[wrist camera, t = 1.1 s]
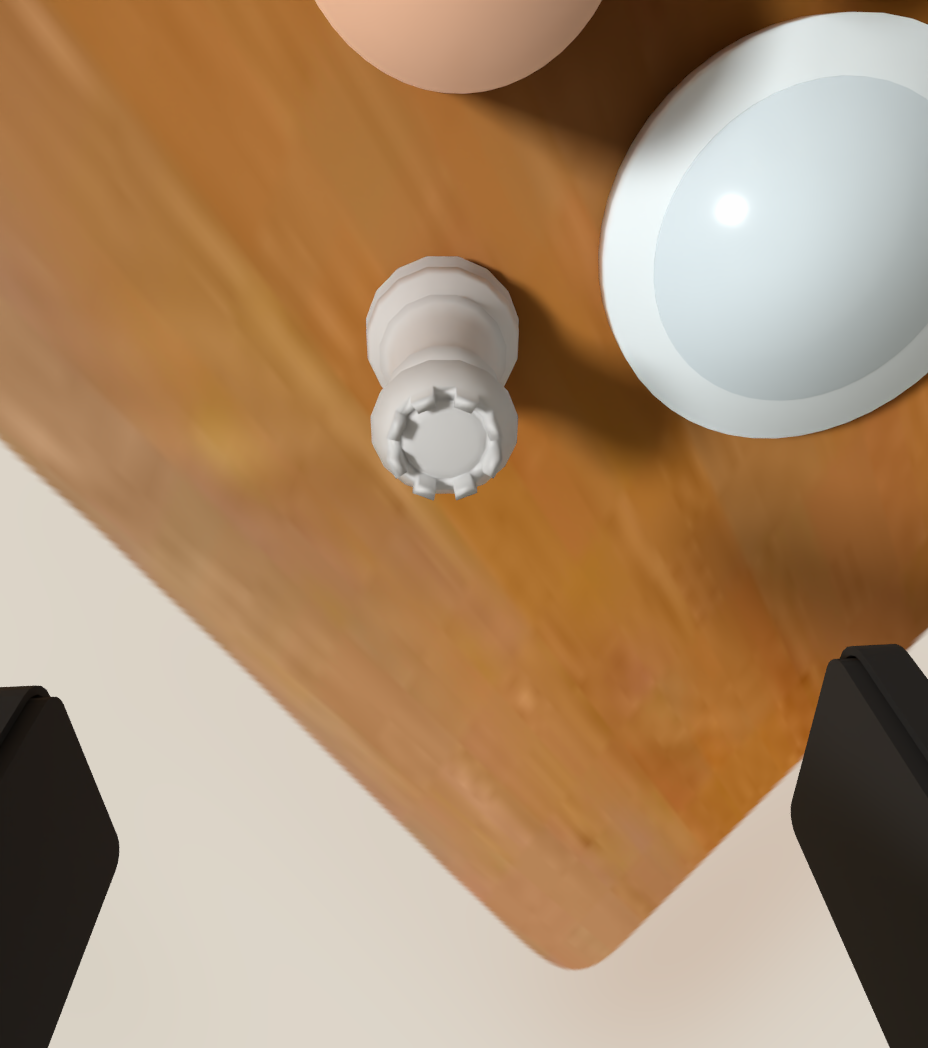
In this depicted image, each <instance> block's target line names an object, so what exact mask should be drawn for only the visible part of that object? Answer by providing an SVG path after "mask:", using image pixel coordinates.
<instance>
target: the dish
mask: <svg viewBox="0 0 928 1048" xmlns="http://www.w3.org/2000/svg"><path fill="white" fill-rule="evenodd" d="M598 266H599V283H600V290H601V297H602V303H603V306H604V310H605V313H606V317H607V320H608V323H609V326H610V328H611V330H612V333H613V335H614V337H615V339H616V341H617V344H618V346H619V347H620V349H621V351H622V353H623V355H624V356H625V358H626V360H627V361H628V363H629V364H630V366H631V367H632V369H633V371H634V372H635V374H636V375H637V377H638V378H639V379H640V381H641V382H642V383H643V384H644V385H645V386H646V387H647V388H648V390H649V391H650V392H651V393H652V394H653V395H654V396H655V397H656V398H657V399H659V400H660V401H661V402H662V403H663V404H665V405H666V406H667V407H668V408H669V409H671V410H672V411H674V412H676V413H677V414H679V415H681V416H682V417H684V418H686V419H687V420H689V421H691V422H694V423H696V424H698V425H701V426H703V427H705V428H708V429H711V430H714V431H718V432H721V433H725V434H729V435H735V436H742V437H749V438H783V437H792V436H801V435H805V434H810V433H814V432H819V431H823V430H826V429H829V428H832V427H835V426H838V425H841V424H844V423H847V422H849V421H852V420H854V419H856V418H858V417H860V416H863V415H865V414H867V413H869V412H871V411H873V410H875V409H877V408H878V407H880V406H882V405H884V404H885V403H887V402H889V401H890V400H892V399H894V398H895V397H897V396H898V395H900V394H901V393H902V392H904V391H905V390H907V389H908V388H909V387H911V386H912V385H914V384H915V383H916V382H917V381H919V380H920V379H921V378H922V377H923V376H924V375H926V374H927V373H928V24H925V23H922V22H920V21H917V20H915V19H912V18H907V17H902V16H897V15H892V14H887V13H874V12H835V13H825V14H817V15H808V16H802V17H798V18H794V19H791V20H787V21H783V22H779V23H776V24H773V25H770V26H768V27H765V28H763V29H761V30H758V31H756V32H754V33H751V34H749V35H746V36H744V37H743V38H741V39H739V40H737V41H736V42H734V43H732V44H730V45H729V46H727V47H725V48H724V49H722V50H720V51H718V52H717V53H715V54H714V55H713V56H711V57H710V58H709V59H708V60H706V61H705V62H704V63H702V64H701V65H700V66H698V67H697V68H696V69H694V70H693V71H692V72H691V73H690V74H688V75H687V76H686V77H685V78H684V79H683V80H682V81H681V82H680V83H679V84H678V85H677V86H676V87H675V88H674V89H673V90H672V91H671V92H670V93H669V94H668V95H667V96H666V97H665V98H664V100H663V101H662V102H661V103H660V105H659V106H658V107H657V108H656V109H655V111H654V112H653V113H652V114H651V115H650V117H649V118H648V119H647V121H646V122H645V124H644V125H643V127H642V128H641V130H640V131H639V133H638V135H637V136H636V138H635V139H634V141H633V142H632V144H631V146H630V148H629V150H628V152H627V154H626V156H625V158H624V160H623V162H622V164H621V165H620V167H619V169H618V172H617V174H616V177H615V180H614V183H613V185H612V188H611V191H610V194H609V196H608V199H607V204H606V208H605V212H604V216H603V220H602V225H601V232H600V241H599V250H598Z"/></svg>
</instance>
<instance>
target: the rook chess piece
mask: <svg viewBox="0 0 928 1048" xmlns="http://www.w3.org/2000/svg"><path fill="white" fill-rule="evenodd" d="M518 325H519V319H518V316H517V313H516V311H515V308H514V305H513V303H512V300H511V297H510V294H509V292H508V290H507V289H506V288H505V287H504V286H503V285H502V284H501V283H500V282H499V281H498V280H497V279H496V278H495V277H494V276H493V275H492V274H491V273H490V271H489V270H488V269H486V268H484V267H481V266H479V265H477V264H474V263H472V262H470V261H467V260H465V259H463V258H460V257H446V256H426V257H424V258H422V259H419V260H417V261H415V262H412V263H410V264H407V265H405V266H403V267H400V268H398V269H397V270H396V271H395V272H394V273H393V274H392V275H391V276H390V277H389V278H388V279H387V280H386V281H385V282H384V283H383V285H382V286H381V287H380V288H379V289H378V290H377V291H376V293H375V296H374V299H373V302H372V304H371V307H370V310H369V312H368V315H367V318H366V327H367V329H366V334H367V353H368V360H369V362H370V364H371V366H372V368H373V370H374V372H375V374H376V376H377V378H378V380H379V383H380V385H381V386H382V387H383V389H382V390H381V392H380V394H379V397H378V399H377V402H376V404H375V407H374V410H373V412H372V415H371V432H372V444H373V446H374V448H375V450H376V452H377V454H378V456H379V458H380V459H381V461H382V463H383V465H384V467H385V468H386V469H387V470H389V471H390V472H391V473H392V474H393V475H394V476H395V478H396V479H397V478H398V479H399V480H400V481H402V482H403V483H404V484H406V485H408V486H411V487H413V493H414V494H417V495H420V496H423V497H425V498H428V499H431V500H434V497H435V493H455V497H456V500H459V499H461V498H464V497H467V496H470V495H472V494H475V493H477V486H480V485H483V484H485V483H486V482H487V481H488V480H489V479H491V478H494V477H495V475H496V473H498V472H499V471H500V470H501V469H502V468H503V467H505V465H506V463H507V461H508V459H509V457H510V455H511V453H512V451H513V449H514V447H515V445H516V443H517V427H518V415H517V413H516V410H515V408H514V405H513V403H512V400H511V397H510V395H509V392H508V391H507V390H506V389H505V388H504V385H505V384H506V382H507V380H508V378H509V375H510V373H511V371H512V369H513V367H514V365H515V363H516V361H517V359H518V340H519V328H518Z"/></svg>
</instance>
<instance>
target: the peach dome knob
mask: <svg viewBox="0 0 928 1048" xmlns="http://www.w3.org/2000/svg"><path fill="white" fill-rule="evenodd" d="M315 1H316V3H317V5H318V7H319V8H320V9H321V11H322V12H323V14H324V15H325V17H326V18H327V20H328V21H329V22H330V24H331V25H332V27H333V28H334V29H335V30H336V31H337V32H338V34H339V35H340V36H341V37H342V38H343V39H344V40H345V42H346V43H347V44H348V45H349V46H350V47H351V48H353V49H354V50H355V51H356V52H357V53H358V54H359V55H360V56H362V57H363V58H364V59H365V60H366V61H368V62H369V63H371V64H372V65H373V66H375V67H376V68H378V69H379V70H381V71H382V72H384V73H386V74H388V75H390V76H392V77H394V78H396V79H398V80H400V81H402V82H404V83H406V84H409V85H412V86H415V87H418V88H421V89H425V90H430V91H436V92H441V93H459V94H466V93H475V92H484V91H488V90H492V89H496V88H500V87H503V86H507V85H509V84H511V83H514V82H516V81H518V80H521V79H523V78H525V77H527V76H529V75H530V74H532V73H533V72H535V71H537V70H538V69H540V68H542V67H543V66H545V65H546V64H547V63H549V62H550V61H551V60H552V59H554V58H555V57H556V56H557V55H559V54H560V53H561V52H562V51H563V50H564V49H565V48H566V47H567V46H568V45H569V44H570V43H571V42H572V41H573V40H574V39H575V38H576V37H577V36H578V35H579V33H580V32H581V31H582V29H583V28H584V27H585V25H586V24H587V23H588V21H589V20H590V19H591V17H592V16H593V15H594V13H595V11H596V10H597V8H598V6H599V4H600V3H601V1H602V0H315Z"/></svg>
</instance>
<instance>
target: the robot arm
mask: <svg viewBox="0 0 928 1048" xmlns="http://www.w3.org/2000/svg"><path fill="white" fill-rule="evenodd" d="M791 820H792V825H793V829H794V832H795V835H796V837H797V840H798V842H799V844H800V846H801V849H802V851H803V853H804V855H805V858H806V860H807V862H808V864H809V867H810V869H811V871H812V873H813V876H814V878H815V880H816V883H817V885H818V887H819V889H820V891H821V894H822V896H823V898H824V900H825V903H826V905H827V907H828V910H829V912H830V914H831V916H832V919H833V921H834V923H835V925H836V928H837V930H838V932H839V934H840V937H841V939H842V941H843V943H844V946H845V948H846V950H847V952H848V955H849V957H850V959H851V961H852V964H853V965H854V968H855V970H856V972H857V975H858V977H859V979H860V981H861V983H862V986H863V988H864V991H865V993H866V995H867V997H868V1000H869V1002H870V1004H871V1006H872V1009H873V1011H874V1013H875V1015H876V1018H877V1020H878V1022H879V1024H880V1027H881V1029H882V1031H883V1033H884V1036H885V1038H886V1040H887V1042H888V1044H889V1047H890V1048H928V679H927V678H926V676H925V675H924V674H923V672H922V671H921V670H920V668H919V667H918V666H917V664H916V663H915V662H914V661H913V659H912V658H911V657H910V655H909V654H908V652H907V651H906V650H905V649H904V648H903V647H901V646H899V645H897V644H887V645H867V646H850V647H847V648H846V649H845V650H844V651H843V652H842V654H841V657H840V659H833V660H831V661H830V662H829V664H828V666H827V669H826V673H825V677H824V681H823V685H822V688H821V692H820V696H819V700H818V704H817V708H816V711H815V715H814V719H813V723H812V727H811V730H810V734H809V738H808V742H807V746H806V749H805V753H804V757H803V761H802V765H801V769H800V772H799V776H798V780H797V784H796V788H795V791H794V795H793V799H792V804H791ZM118 858H119V841H118V837H117V834H116V832H115V829H114V827H113V824H112V822H111V819H110V817H109V814H108V812H107V810H106V807H105V805H104V802H103V800H102V797H101V795H100V793H99V790H98V788H97V785H96V783H95V780H94V778H93V775H92V773H91V770H90V768H89V765H88V763H87V761H86V758H85V756H84V753H83V751H82V748H81V746H80V743H79V741H78V738H77V736H76V734H75V731H74V729H73V726H72V724H71V721H70V719H69V717H68V714H67V712H66V709H65V707H64V704H63V703H62V701H61V700H60V699H59V698H58V697H50V695H49V694H48V692H47V690H46V689H45V688H43V687H42V686H19V687H0V1048H48V1046H49V1043H50V1040H51V1038H52V1035H53V1033H54V1030H55V1027H56V1025H57V1022H58V1020H59V1017H60V1014H61V1012H62V1009H63V1006H64V1004H65V1001H66V999H67V996H68V993H69V990H70V988H71V986H72V983H73V980H74V978H75V975H76V972H77V970H78V967H79V965H80V962H81V959H82V957H83V954H84V951H85V949H86V946H87V944H88V941H89V938H90V936H91V933H92V931H93V928H94V925H95V923H96V920H97V917H98V914H99V912H100V909H101V907H102V904H103V902H104V899H105V896H106V894H107V891H108V888H109V886H110V883H111V881H112V878H113V875H114V873H115V870H116V867H117V864H118Z"/></svg>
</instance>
